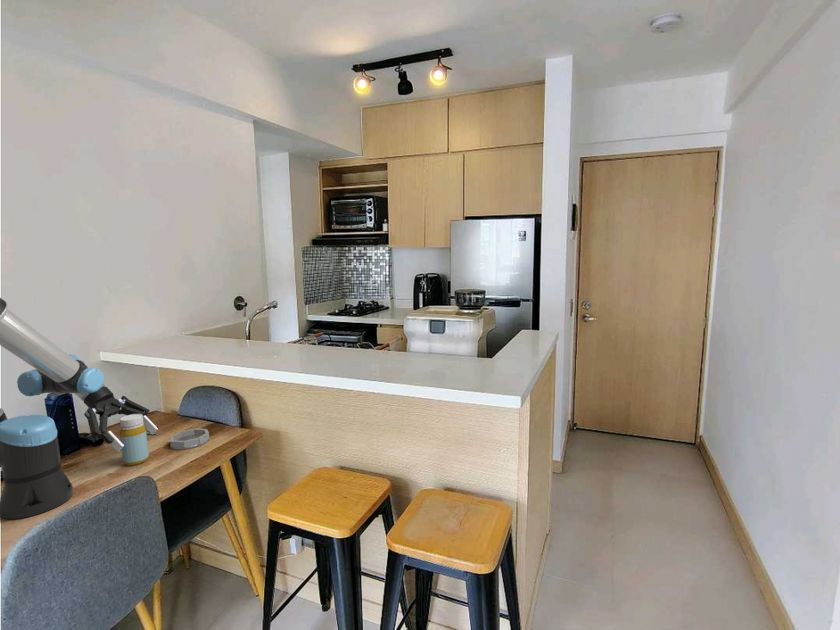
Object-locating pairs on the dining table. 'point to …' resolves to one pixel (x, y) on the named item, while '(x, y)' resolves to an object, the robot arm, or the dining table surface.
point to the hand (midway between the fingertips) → (139, 440)
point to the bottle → (133, 440)
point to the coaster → (189, 439)
